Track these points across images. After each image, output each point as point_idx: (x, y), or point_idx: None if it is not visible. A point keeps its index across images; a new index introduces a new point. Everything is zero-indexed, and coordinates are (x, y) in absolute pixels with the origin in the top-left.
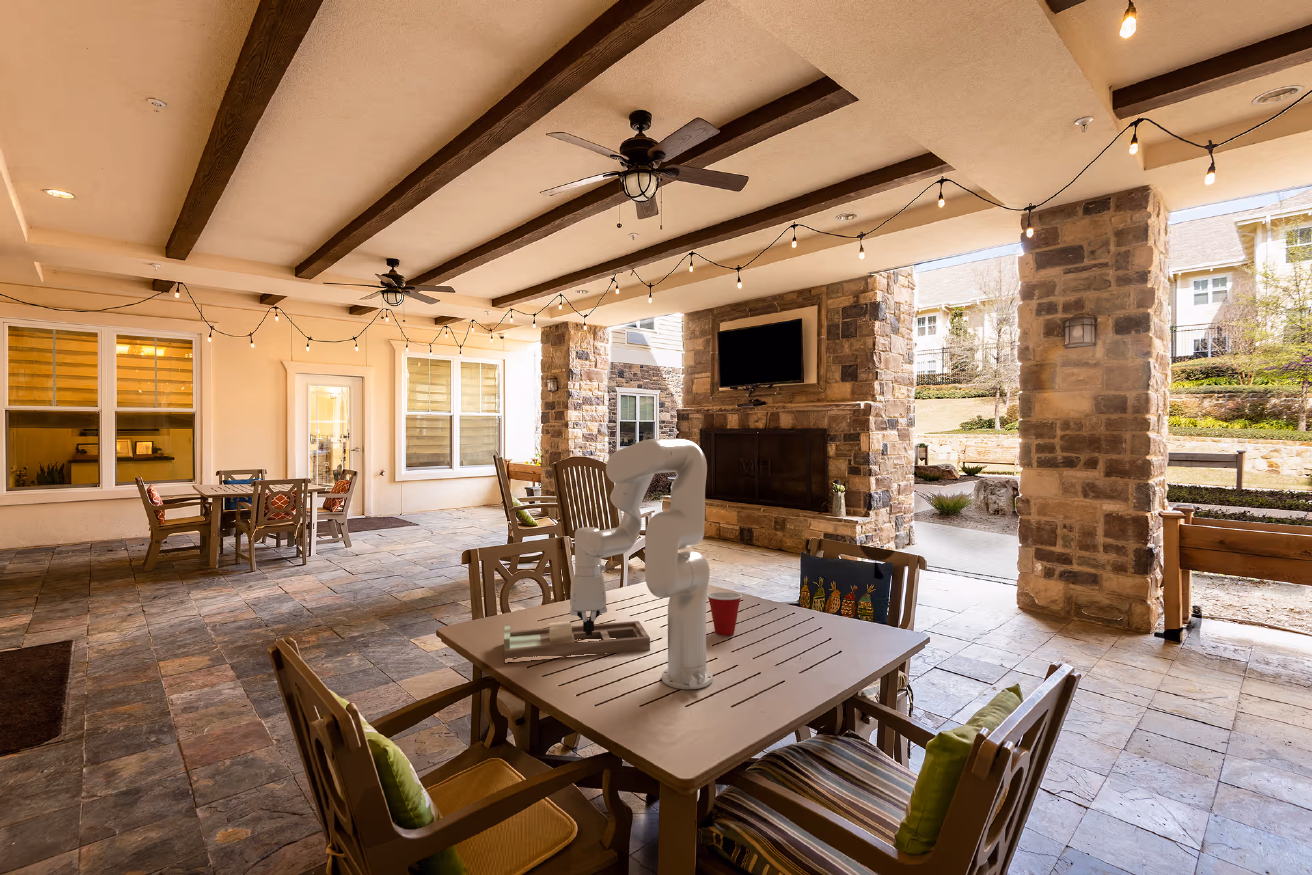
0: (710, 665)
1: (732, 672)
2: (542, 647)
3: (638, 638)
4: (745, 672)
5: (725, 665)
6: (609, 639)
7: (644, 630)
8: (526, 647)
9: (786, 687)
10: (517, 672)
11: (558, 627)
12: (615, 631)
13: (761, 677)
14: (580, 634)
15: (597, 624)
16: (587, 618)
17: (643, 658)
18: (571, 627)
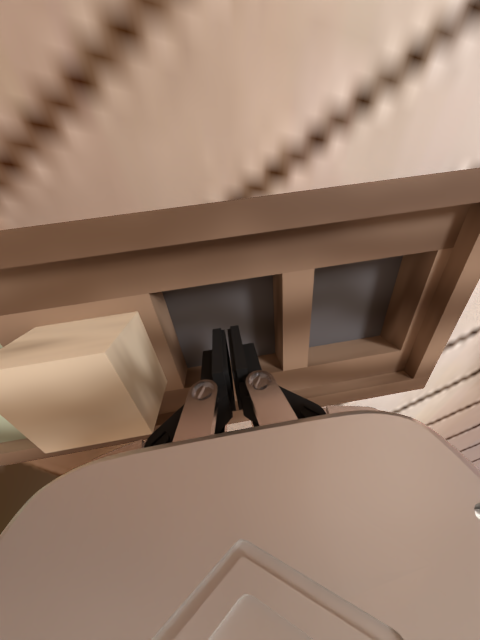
0: (448, 423)
1: (456, 440)
2: (81, 450)
3: (389, 391)
4: (472, 439)
5: (470, 422)
6: (303, 363)
7: (453, 324)
8: (19, 454)
9: (475, 465)
10: (71, 460)
11: (75, 430)
12: (351, 261)
13: (476, 449)
14: (186, 286)
15: (281, 201)
16: (229, 410)
17: (354, 401)
18: (149, 429)
